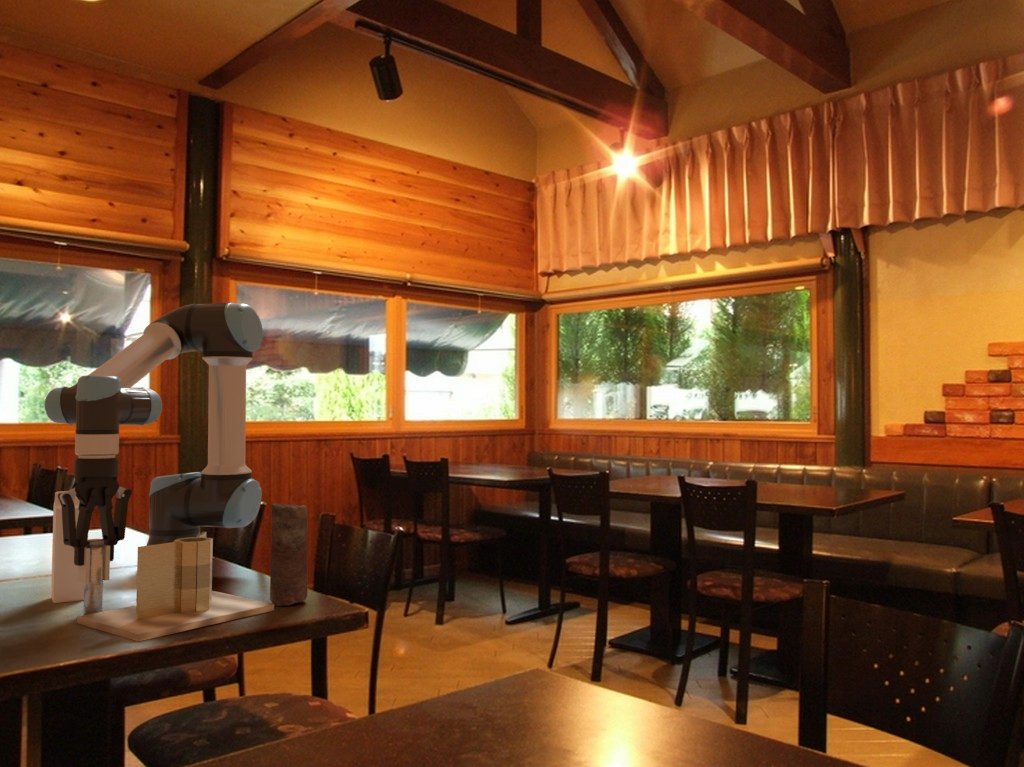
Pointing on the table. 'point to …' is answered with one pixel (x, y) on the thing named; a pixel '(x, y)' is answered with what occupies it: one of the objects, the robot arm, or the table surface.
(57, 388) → the robot arm
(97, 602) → the hinge pin
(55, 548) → the milk
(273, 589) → the candle
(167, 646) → the table surface
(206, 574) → the hinge
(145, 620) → the board
